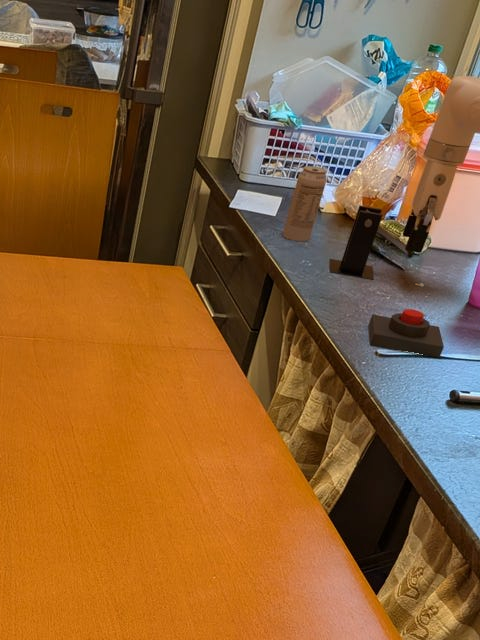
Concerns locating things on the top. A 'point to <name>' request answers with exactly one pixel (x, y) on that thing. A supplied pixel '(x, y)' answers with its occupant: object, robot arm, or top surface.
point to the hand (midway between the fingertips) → (411, 244)
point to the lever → (393, 239)
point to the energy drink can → (305, 203)
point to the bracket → (359, 245)
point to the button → (412, 317)
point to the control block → (405, 335)
